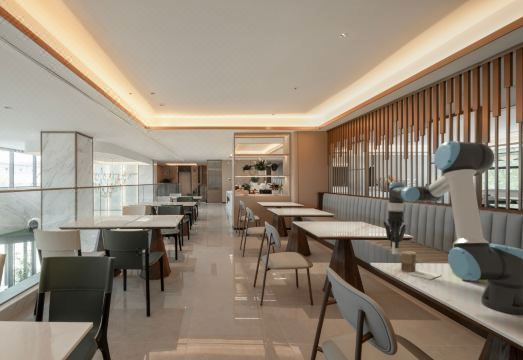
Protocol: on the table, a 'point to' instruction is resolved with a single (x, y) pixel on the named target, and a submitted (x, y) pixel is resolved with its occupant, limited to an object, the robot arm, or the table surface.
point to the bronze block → (408, 261)
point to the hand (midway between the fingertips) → (394, 253)
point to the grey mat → (424, 274)
